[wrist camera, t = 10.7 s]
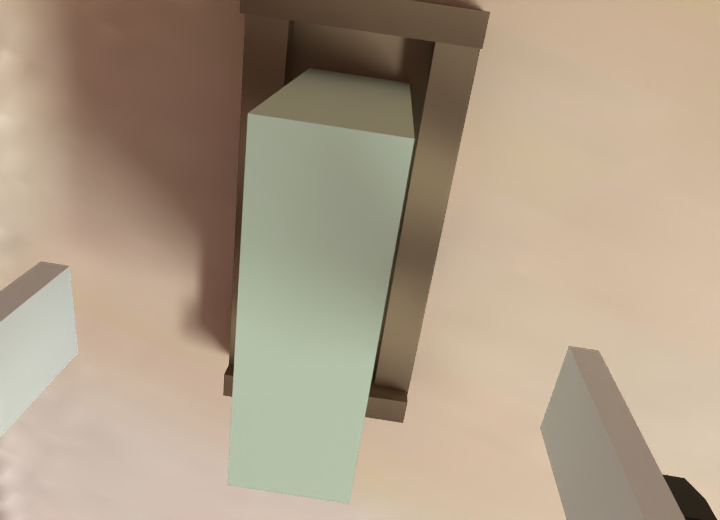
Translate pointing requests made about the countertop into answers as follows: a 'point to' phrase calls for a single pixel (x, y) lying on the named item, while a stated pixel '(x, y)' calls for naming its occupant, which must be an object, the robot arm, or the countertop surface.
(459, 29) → the track
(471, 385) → the countertop surface
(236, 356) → the rectangular block
